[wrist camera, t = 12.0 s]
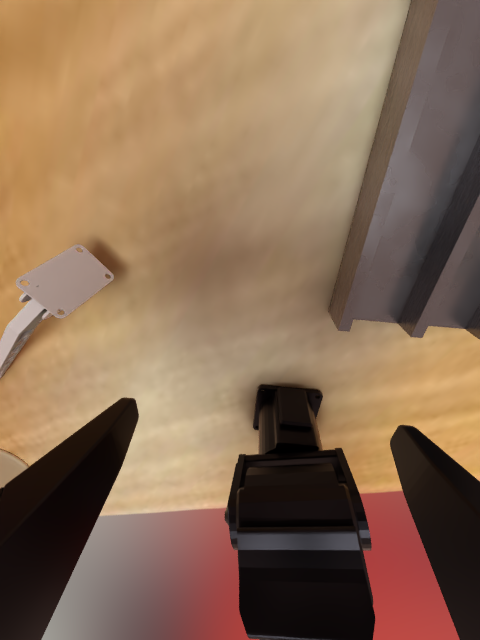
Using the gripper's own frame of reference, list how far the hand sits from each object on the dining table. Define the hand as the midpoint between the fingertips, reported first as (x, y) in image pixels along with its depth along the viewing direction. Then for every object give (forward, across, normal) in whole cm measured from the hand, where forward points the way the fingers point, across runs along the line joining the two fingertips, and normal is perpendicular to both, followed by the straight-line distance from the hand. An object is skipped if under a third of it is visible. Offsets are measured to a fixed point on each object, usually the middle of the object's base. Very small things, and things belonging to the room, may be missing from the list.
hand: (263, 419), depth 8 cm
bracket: (+13, +20, +6) cm, 25 cm away
